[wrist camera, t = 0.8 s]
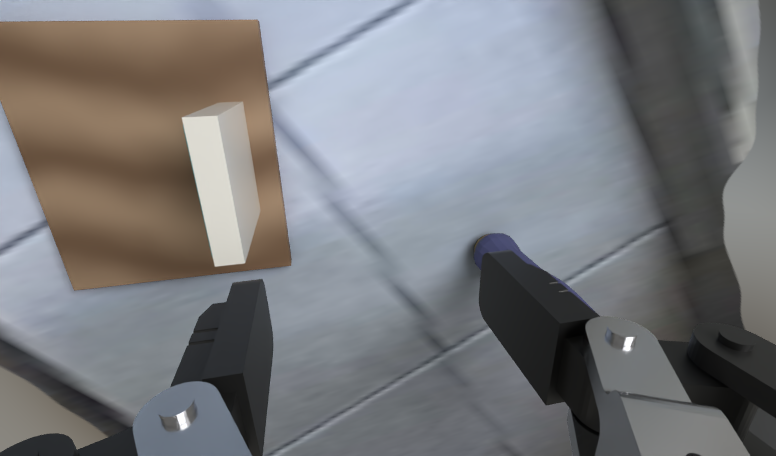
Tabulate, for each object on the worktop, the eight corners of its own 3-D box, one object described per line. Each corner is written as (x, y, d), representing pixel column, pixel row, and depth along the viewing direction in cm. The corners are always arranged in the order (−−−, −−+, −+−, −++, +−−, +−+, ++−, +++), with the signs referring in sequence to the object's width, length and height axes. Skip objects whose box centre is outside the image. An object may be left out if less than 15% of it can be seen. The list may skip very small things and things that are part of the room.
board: (-15, 23, 24) (-31, 21, 23) (259, 21, 26) (257, 19, 25) (82, 282, 31) (74, 290, 29) (291, 259, 33) (291, 265, 32)
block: (216, 102, 27) (178, 117, 18) (242, 101, 27) (217, 115, 19) (236, 212, 30) (212, 267, 22) (260, 210, 30) (245, 263, 22)
